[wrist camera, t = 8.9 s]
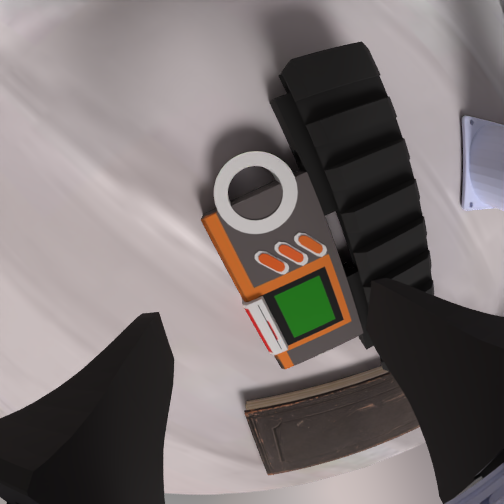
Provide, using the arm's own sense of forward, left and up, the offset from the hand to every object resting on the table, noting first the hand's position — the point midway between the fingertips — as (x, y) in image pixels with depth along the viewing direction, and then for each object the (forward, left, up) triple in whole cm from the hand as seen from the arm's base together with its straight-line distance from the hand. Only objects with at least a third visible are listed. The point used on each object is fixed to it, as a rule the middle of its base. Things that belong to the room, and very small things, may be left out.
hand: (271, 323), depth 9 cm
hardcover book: (-10, +23, -11) cm, 27 cm away
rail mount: (-8, 0, -10) cm, 13 cm away
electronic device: (-2, +2, -10) cm, 11 cm away
